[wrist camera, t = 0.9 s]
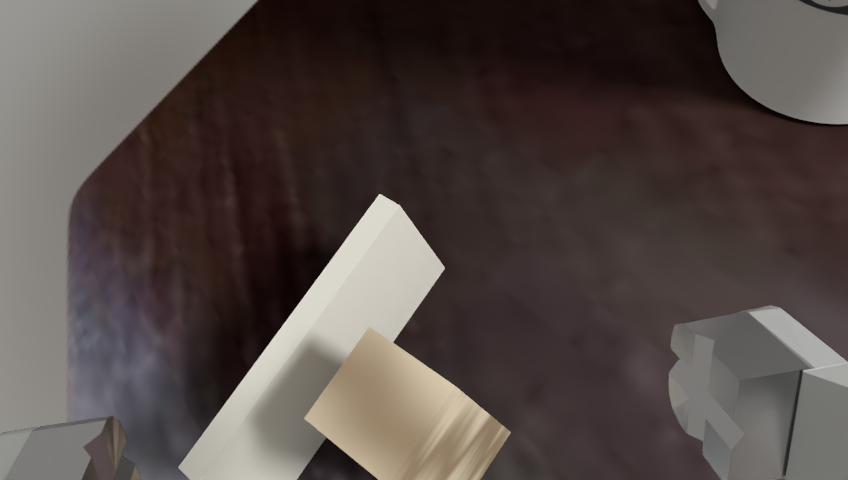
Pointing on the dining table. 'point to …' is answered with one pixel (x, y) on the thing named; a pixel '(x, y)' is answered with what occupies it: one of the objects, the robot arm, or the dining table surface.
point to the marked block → (404, 417)
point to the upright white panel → (317, 350)
